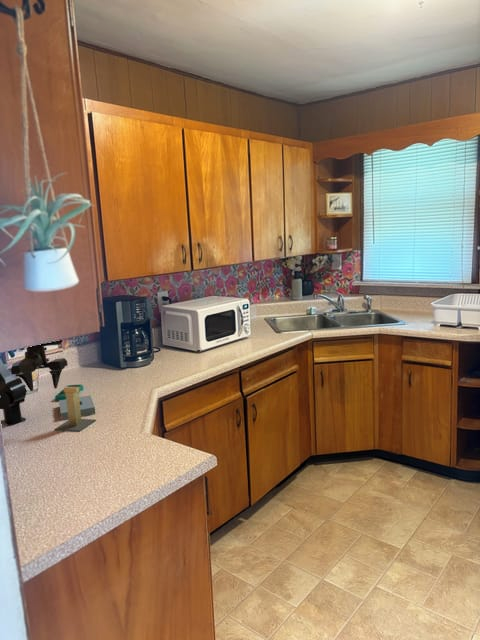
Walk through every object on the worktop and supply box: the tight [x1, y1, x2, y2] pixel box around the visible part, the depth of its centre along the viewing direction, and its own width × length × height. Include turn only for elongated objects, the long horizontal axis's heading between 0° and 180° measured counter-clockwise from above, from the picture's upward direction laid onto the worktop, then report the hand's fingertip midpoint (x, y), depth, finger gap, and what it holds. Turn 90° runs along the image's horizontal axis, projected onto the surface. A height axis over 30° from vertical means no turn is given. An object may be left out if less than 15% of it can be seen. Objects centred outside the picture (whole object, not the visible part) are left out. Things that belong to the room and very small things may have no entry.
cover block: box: [58, 394, 96, 421], centre depth 185 cm, size 12×16×2 cm
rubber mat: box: [54, 418, 97, 433], centre depth 169 cm, size 10×10×1 cm
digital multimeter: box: [54, 384, 84, 402], centre depth 204 cm, size 7×15×3 cm, turn 0°
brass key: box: [63, 386, 82, 426], centre depth 168 cm, size 5×3×14 cm, turn 74°
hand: (43, 389), depth 170 cm, fingers open, 9 cm apart
